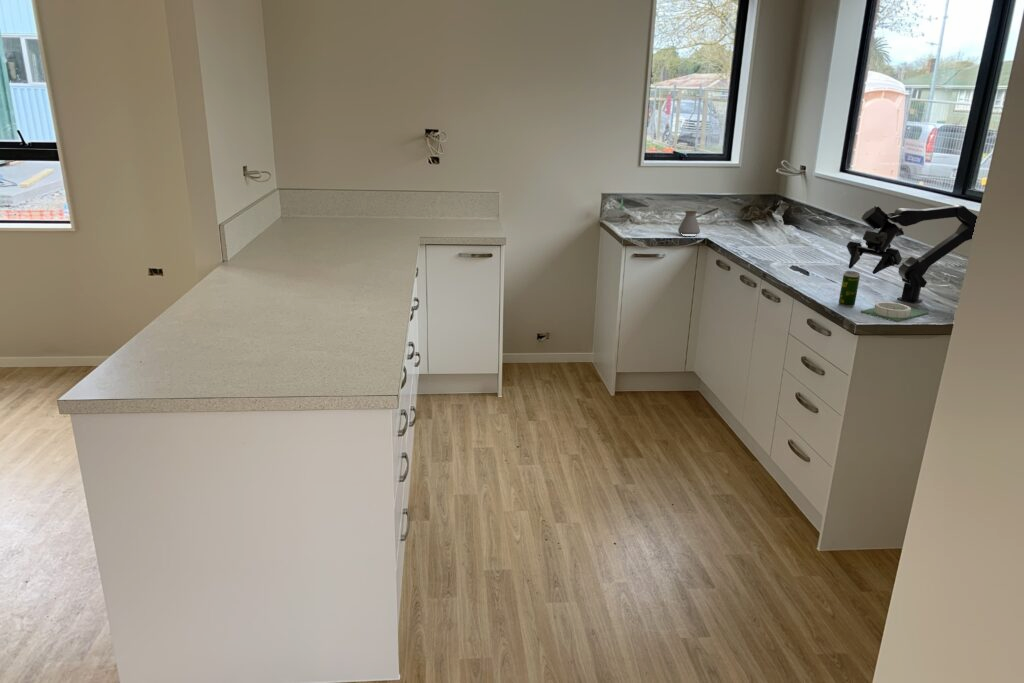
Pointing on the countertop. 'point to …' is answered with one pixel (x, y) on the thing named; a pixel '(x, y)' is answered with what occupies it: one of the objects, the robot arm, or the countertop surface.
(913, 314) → the putting mat
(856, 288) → the beer can
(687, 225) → the coffee pot
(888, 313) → the cup
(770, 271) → the countertop surface
